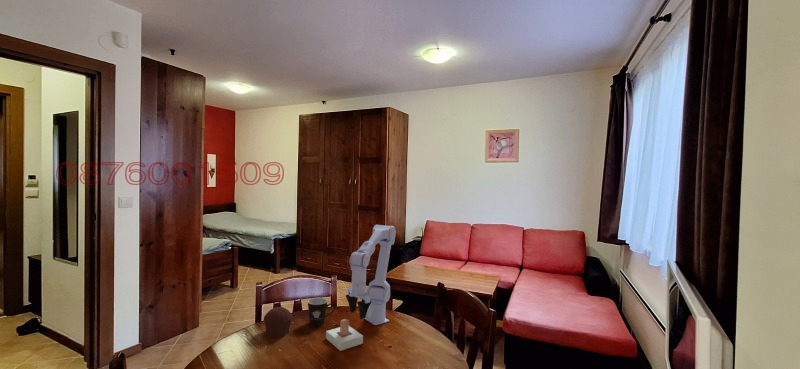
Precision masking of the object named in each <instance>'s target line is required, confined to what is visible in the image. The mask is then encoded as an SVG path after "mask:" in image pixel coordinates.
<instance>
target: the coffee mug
mask: <svg viewBox="0 0 800 369" xmlns="http://www.w3.org/2000/svg"><path fill="white" fill-rule="evenodd" d="M329 306H333V307H334V309H333V310H332V311H331V312H329V313H328V314H327V309H328V307H329ZM307 308H308V309H307V311H308V320H309V325H310V326H311V327H320V326H323V325H324V324H325V320H326V318H327V317H328V316H330V315H331V314H333V313H334V312H335V310H336V304H334V303H332V302H330V303H328V299H327V298H325V297H312V298H310V299H308V300H307Z"/></svg>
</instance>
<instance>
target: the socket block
mask: <svg viewBox="0 0 800 369" xmlns="http://www.w3.org/2000/svg"><path fill="white" fill-rule="evenodd" d="M325 339H326V340H327V341H328V342H329V343H330V344H332V345H333V346H334V347H335V348H336V349H338V350H339V351H340V352H341V351H344V350H347V349H351V348H353V347H357V346H359V345H362V344H364V335H363V334H361V333H360V332H358V331H357V330H356V329H355V328H353V327H351V326H350V325H349V336H345V337H341V336H340V326H338V327H336V328H332V329H329V330H326V331H325Z"/></svg>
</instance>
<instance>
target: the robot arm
mask: <svg viewBox="0 0 800 369" xmlns="http://www.w3.org/2000/svg"><path fill="white" fill-rule="evenodd" d="M396 234H397V231H396V227H395V226H394V225H382V224H375V225H374V226H373V227H372V234H371V236H370V237H369V239H368V240H366V241H364V242H363V243H362V244H361V246H360V247H359V248H358V250H356V251H354V252H352V253H351V255H350V257H349V266H350V271H351V287H348V288H347V291H346V292H347V294H345V298H346V301H347V303H348V306H349V307H348V308H349V312H350V314H352V313H355V312H356V311H357V307H358V311H359V318H360V320H363V319H364V320H366V321H368V322H369V323H371V324H372V325H374V326H379V325H382V324H385V323H388V322H390V320H389V319H388V318H386V314H387V313H386V309H387V307H386V305H387V302H389V300H390V297H391V285H390V283H388V281H386V279H387V273H388V267H389V260H390V255H391V254H390V253H391V249H392V246H393V245H395V240H396ZM378 244H379V245H380V247H379V248H380V249H379V254H378V259H377V266H376V271H375V276H374V279H373V280H371V281H370V282H369V284H368V286H367V285H366V284H367V283H366V282H367V267H368V266H369V265H370V260H371V256H372V255H373V254H374V252H375V250H376V245H378ZM367 287H368V288H367ZM366 288H367V290H366ZM358 299H360V301H358Z"/></svg>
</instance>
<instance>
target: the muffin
mask: <svg viewBox="0 0 800 369" xmlns="http://www.w3.org/2000/svg"><path fill="white" fill-rule="evenodd" d="M292 318H293V313H292V312H291V311H290V310H289V309H287V308H286V307H283V306H276V307H273V308H271V309H270V310H268V311H267V312H266V313H265V315H264V317H263V322H264V324H265V325H264V326H265V333H266V336H267V337H269V338H271V337H272V338H281V337H284V336H286V335H287V334H289V331H290V329H291V328H290V327H291V321H292Z"/></svg>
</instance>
